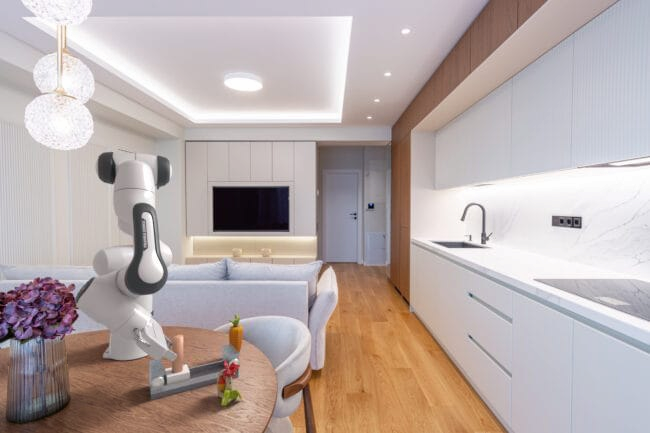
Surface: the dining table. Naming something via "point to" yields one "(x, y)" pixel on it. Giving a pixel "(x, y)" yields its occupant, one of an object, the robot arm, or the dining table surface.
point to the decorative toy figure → (227, 383)
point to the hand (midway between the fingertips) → (172, 351)
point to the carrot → (236, 334)
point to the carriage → (177, 363)
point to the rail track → (198, 374)
